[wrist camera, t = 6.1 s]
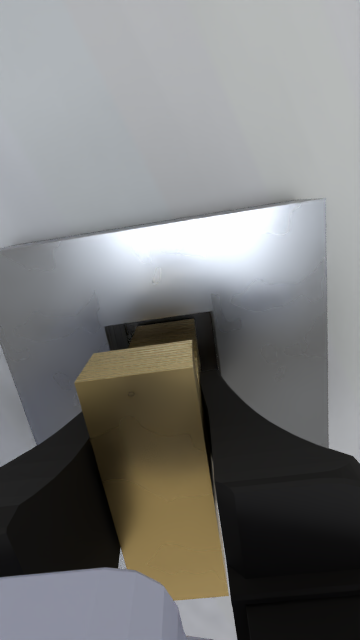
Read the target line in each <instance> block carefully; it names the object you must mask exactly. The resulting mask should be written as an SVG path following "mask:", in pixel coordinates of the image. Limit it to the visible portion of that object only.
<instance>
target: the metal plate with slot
mask: <svg viewBox="0 0 360 640" xmlns="http://www.w3.org/2000/svg"><path fill="white" fill-rule="evenodd" d="M208 311H210V312H211V320H212V327H213V335H214V343H215V350H216V358H217V365H218V372H219V373H220V375H221V376H222V378H223V379H224V380H225V382H226V383H227V384H228V385H229V386H230V388H231V389H232V390H233V391H234V392H235V393H236V394H237V395H238V396H239V397H240V398H241V399H242V400H243V401H244V402H245V403H246V404H248V405H249V406H250V407H251V408H252V409H253V410H255V411H256V412H257V413H258V414H260V415H261V416H262V417H264V418H265V419H267V420H268V421H270V422H272V423H273V424H275V425H277V426H278V427H280V428H282V429H284V430H286V431H288V432H290V433H292V434H294V435H296V436H298V437H300V438H302V439H305V440H307V441H310V442H312V443H314V444H317V445H320V446H322V447H325V448H329V442H328V356H327V269H326V198H323V199H303V200H292V201H286V202H279V203H273V204H267V205H261V206H255V207H248V208H242V209H236V210H230V211H224V212H217V213H211V214H205V215H199V216H193V217H186V218H180V219H174V220H168V221H161V222H155V223H149V224H143V225H137V226H130V227H124V228H118V229H112V230H106V231H99V232H93V233H87V234H81V235H75V236H68V237H62V238H56V239H50V240H43V241H37V242H31V243H25V244H19V245H12V246H8V247H4V248H0V344H1V346H2V349H3V352H4V355H5V358H6V360H7V363H8V366H9V369H10V372H11V374H12V377H13V380H14V383H15V386H16V388H17V391H18V394H19V397H20V400H21V402H22V405H23V408H24V411H25V414H26V416H27V419H28V422H29V425H30V428H31V430H32V433H33V436H34V439H35V442H36V444H37V445H39V444H40V443H42V442H43V441H44V440H46V439H47V438H49V437H50V436H52V435H53V434H54V433H56V432H57V431H58V430H60V429H61V428H62V427H64V426H65V425H66V424H67V423H68V422H70V421H71V420H72V419H73V418H74V417H76V416H77V415H78V414H79V413H80V412H82V408H81V405H80V401H79V398H78V394H77V391H76V387H75V384H74V382H75V381H76V379H77V378H78V376H79V375H80V373H81V372H82V370H83V368H84V367H85V365H86V364H87V362H88V361H89V359H90V358H91V356H92V355H93V353H100V352H107V351H115V350H122V349H128V347H129V344H128V340H127V335H126V331H125V326H124V323H131V322H138V321H145V320H152V319H159V318H166V317H173V316H180V315H187V314H194V313H201V312H208ZM213 471H214V469H213ZM216 499H217V496H216Z"/></svg>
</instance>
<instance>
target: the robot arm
mask: <svg viewBox="0 0 360 640" xmlns="http://www.w3.org/2000/svg"><path fill="white" fill-rule="evenodd" d="M200 385H201V392H202V399H203V405H204V412H205V418H206V425H207V431H208V438H209V445H210V451H211V457H212V461H213V469H214V483H215V490H216V496H217V503H218V509H219V516H220V522H221V529H222V535H223V542H224V548H225V555H226V561H227V569H228V578H229V586H230V595H231V603H232V607H233V613H234V620H235V626H236V633H237V639H238V640H360V463H359V462H358V461H357V460H356V459H355V458H354V457H353V456H351V455H347V454H344V453H341V452H338V451H335V450H332V449H329V448H325V447H322V446H320V445H317V444H314V443H312V442H310V441H307V440H305V439H302V438H300V437H298V436H296V435H294V434H292V433H290V432H288V431H286V430H284V429H282V428H280V427H278V426H277V425H275V424H273V423H272V422H270V421H268V420H267V419H265V418H264V417H262V416H261V415H260V414H258V413H257V412H256V411H255V410H253V409H252V408H251V407H250V406H249V405H248V404H246V403H245V402H244V401H243V400H242V399H241V398H240V397H239V396H238V395H237V394H236V393H235V392H234V391H233V390H232V389H231V388H230V386H229V385H228V384H227V383H226V382H225V380H224V379H223V378H222V376H221V375H220V373H219V372H218V371H217V370H209V371H201V372H200ZM120 547H121V546H120V543H119V539H118V536H117V532H116V529H115V525H114V521H113V518H112V514H111V511H110V507H109V504H108V500H107V497H106V493H105V490H104V486H103V483H102V479H101V476H100V472H99V468H98V465H97V461H96V458H95V454H94V451H93V447H92V444H91V440H90V437H89V433H88V430H87V426H86V423H85V419H84V415H83V412H80V413H79V414H78V415H77V416H76V417H74V418H73V419H72V420H71V421H70V422H68V423H67V424H66V425H65V426H64V427H62V428H61V429H60V430H58V431H57V432H56V433H54V434H53V435H52V436H50V437H49V438H47V439H46V440H44V441H43V442H42V443H40V444H39V445H37V446H36V447H34V448H33V449H31V450H29V451H28V452H26V453H24V454H22V455H21V456H19V457H17V458H16V459H14V460H12V461H11V462H9V463H7V464H5V465H4V466H2V467H0V640H212V639H205V638H198V637H192V636H186V635H185V633H184V631H183V627H182V622H181V618H180V614H179V610H178V607H177V605H176V604H175V602H174V601H173V599H172V598H171V596H170V595H169V593H168V592H167V590H166V589H165V587H164V586H163V585H162V584H161V583H160V582H158V581H156V580H154V579H152V578H150V577H148V576H146V575H144V574H142V573H140V572H138V571H136V570H129V569H118V564H119V555H120Z"/></svg>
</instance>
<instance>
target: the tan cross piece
mask: <svg viewBox="0 0 360 640" xmlns="http://www.w3.org/2000/svg"><path fill="white" fill-rule="evenodd" d="M201 371H202V369H201V363H200V356H199V349H198V342H197V336H196V329H195V322H194V319H187V320H180V321H173V322H166V323H158V324H151V325H144V326H137V328H136V330H135V333H134V335H133V338H132V340H131V342H130V345H129V347H128V349H122V350H115V351H107V352H100V353H93V355H92V356H91V358H90V359H89V361H88V362H87V364H86V365H85V367H84V368H83V370H82V372H81V373H80V375H79V376H78V378H77V379H76V381H75V382H74V384H75V387H76V391H77V394H78V398H79V401H80V405H81V408H82V412H83V415H84V419H85V423H86V426H87V430H88V433H89V437H90V440H91V444H92V447H93V451H94V454H95V458H96V461H97V465H98V468H99V472H100V476H101V479H102V483H103V486H104V490H105V493H106V497H107V500H108V504H109V507H110V511H111V514H112V518H113V521H114V525H115V529H116V532H117V536H118V539H119V543H120V546H121V550H122V553H123V557H124V560H125V564H126V567H127V569H129V570H136V571H138V572H140V573H142V574H144V575H146V576H148V577H150V578H152V579H154V580H156V581H158V582H160V583H161V584H162V585H163V586H164V587H165V589H166V590H167V592H168V593H169V595H170V596H171V598H172V599H173V601H174V600H186V599H197V598H209V597H220V596H229V594H228V585H227V576H226V567H225V558H224V549H223V541H222V534H221V528H220V521H219V515H218V508H217V499H216V490H215V483H214V471H213V461H212V457H211V451H210V445H209V438H208V431H207V425H206V418H205V412H204V405H203V399H202V392H201V385H200V372H201Z"/></svg>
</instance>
